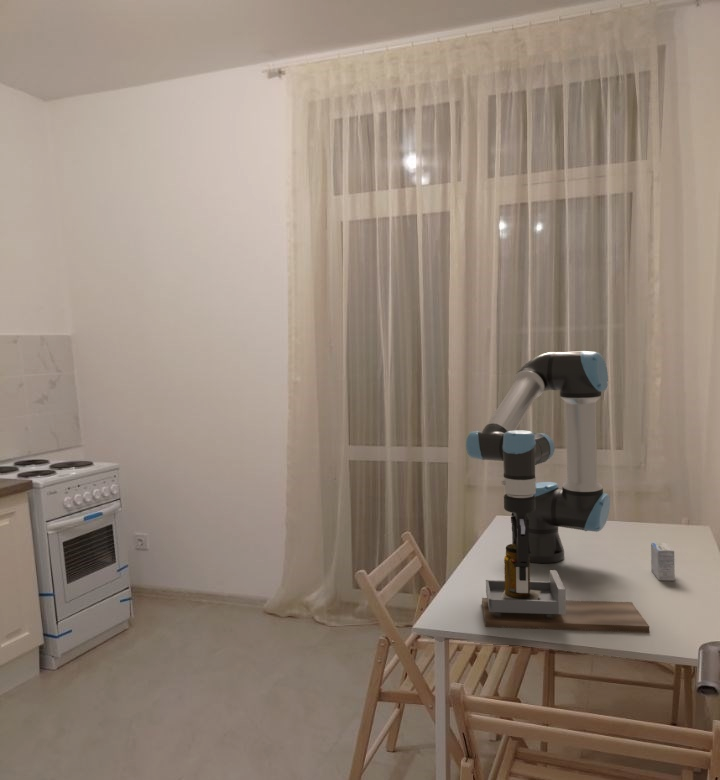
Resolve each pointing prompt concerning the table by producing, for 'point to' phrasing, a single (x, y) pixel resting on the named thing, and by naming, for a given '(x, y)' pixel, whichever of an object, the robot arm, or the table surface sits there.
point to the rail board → (575, 617)
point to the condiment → (511, 577)
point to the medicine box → (662, 561)
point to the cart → (547, 602)
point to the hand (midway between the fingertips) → (520, 586)
